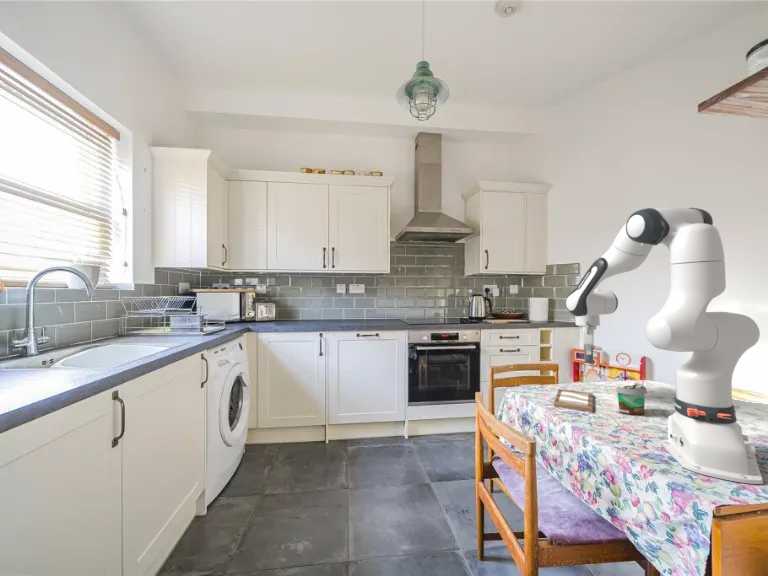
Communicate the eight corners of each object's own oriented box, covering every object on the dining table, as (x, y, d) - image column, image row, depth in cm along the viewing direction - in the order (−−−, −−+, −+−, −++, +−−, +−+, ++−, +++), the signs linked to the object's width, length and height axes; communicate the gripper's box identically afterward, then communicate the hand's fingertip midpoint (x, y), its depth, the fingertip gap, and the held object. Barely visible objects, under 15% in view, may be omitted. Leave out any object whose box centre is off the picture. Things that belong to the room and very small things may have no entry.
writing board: (592, 412, 120) (592, 408, 120) (553, 406, 127) (553, 403, 127) (592, 395, 138) (592, 392, 138) (558, 391, 146) (558, 388, 146)
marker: (593, 365, 134) (592, 336, 135) (584, 364, 136) (582, 336, 136) (593, 363, 137) (592, 335, 138) (584, 363, 139) (583, 335, 139)
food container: (635, 419, 112) (634, 391, 113) (617, 413, 118) (615, 386, 118) (655, 413, 117) (654, 386, 118) (636, 408, 123) (635, 382, 123)
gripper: (596, 323, 127) (598, 358, 126) (595, 319, 144) (597, 350, 144) (578, 323, 130) (579, 357, 130) (579, 319, 147) (580, 349, 147)
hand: (588, 353), depth 137 cm, fingers closed on marker, 3 cm apart
